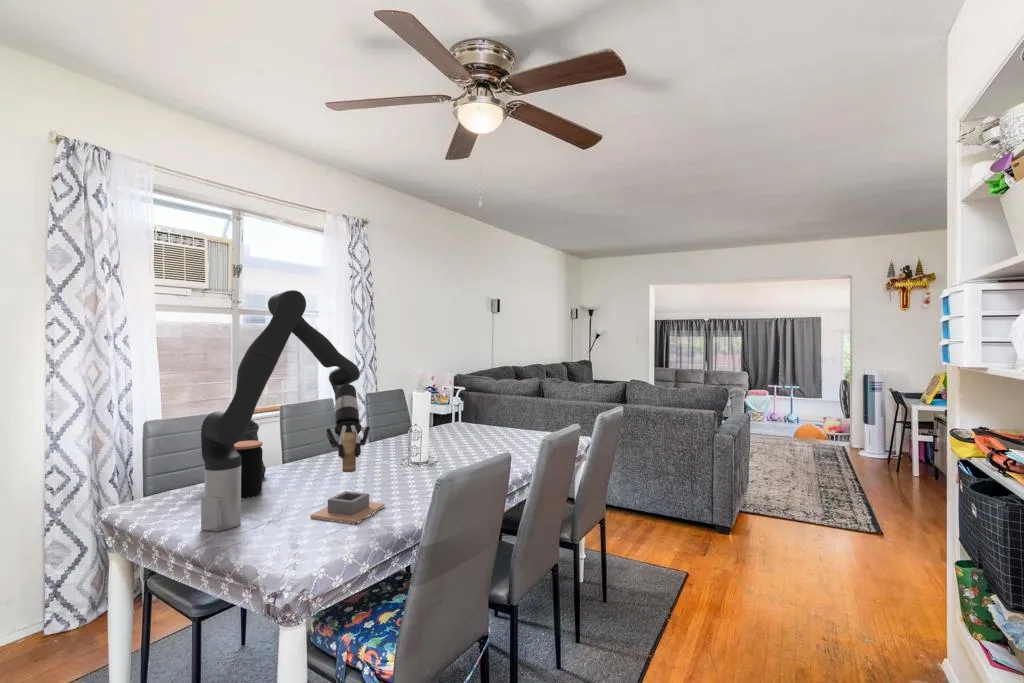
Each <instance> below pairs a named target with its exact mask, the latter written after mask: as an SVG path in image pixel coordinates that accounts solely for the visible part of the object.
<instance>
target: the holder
mask: <svg viewBox="0 0 1024 683" xmlns="http://www.w3.org/2000/svg"><path fill="white" fill-rule="evenodd" d="M383 506H386V504H385V503H381V502H380V503H379V502H371V501H370V493H366V492H356V491H355V492H354V491H347V490H345V491H343V492H341V493H338V494H336V495H335V496H332V497H330V498H328V499H327V506H326V507H324V508H322V509H320V510H317V511H315V512H313V513H312V514H310V519H312V518H316V519H315V520H320V519H323V520H322V521H327V520H333V521H332V522H335V521H342V522H350V523H356V522H358V521H360V520H362V519H363V518H365V517H367V516H368V515H370V514H372V513H373V512H375V511H377V510H378V509H380V508H382V507H383ZM382 509H383V508H382ZM377 512H378V511H377ZM372 515H373V514H372ZM370 516H371V515H370ZM367 518H368V517H367ZM365 519H366V518H365ZM362 521H363V520H362ZM342 522H341V523H342ZM360 522H361V521H360ZM350 523H349V524H350Z"/></svg>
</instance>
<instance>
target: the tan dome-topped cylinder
mask: <svg viewBox="0 0 1024 683" xmlns="http://www.w3.org/2000/svg"><path fill="white" fill-rule="evenodd" d="M343 453H344V456H343V458H342V471H341V472H343V473H354V472H356V471H357V468H356V466H357V464H356V463H357V457H356V432H345V433H343Z"/></svg>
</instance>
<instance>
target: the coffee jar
mask: <svg viewBox="0 0 1024 683" xmlns="http://www.w3.org/2000/svg"><path fill="white" fill-rule="evenodd" d="M234 446H235V449H236V451H237V452H238V453H239V454H240V456H241V498H245V499H248V498H247V497H251V498H253V497H252V496H255V497H257V496H259V495H260V494H261V492H262V491H263V479H262V460H263V448H262V446H263V442H262V441H260V440H258V441H240V442H237V443H235V444H234ZM259 493H260V494H259ZM258 494H259V495H258ZM256 495H257V496H256Z"/></svg>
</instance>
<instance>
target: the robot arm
mask: <svg viewBox="0 0 1024 683" xmlns="http://www.w3.org/2000/svg"><path fill="white" fill-rule="evenodd" d="M267 308H268V311H269V313H270V314H271V315H272V316H271V317H272V318H271V319H270V321H269V323H268V325H267V326H266V327H265V328H264V329H263V330H262V332H261V333H260V334H259V335H258V336H257V337H256V338H255V339H254V341H252V343H251V344H250V346H249V347H248V349H247V350H246V352H244V356H243V357H242V358H241V361H240V363H239V365H238V369H237V375H236V386H235V387H236V388H235V392H234V395H233V398H232V399H231V401H230V403H229V405H228V407H227V408H226V410H224V411H223V410H218V411H217V410H216V411H213V412H211V413H209V414H208V415H207V416H206V417H205V418H204V419H203V422H202V424H201V429H200V445H201V458H202V460H203V463H204V494H203V495H202V496H201V497H200V500H201V502H200V504H201V505H200V530H203V531H208V532H214V533H219V532H222V531H225V530H226V531H227V530H230V529H234V528H235V527H238V526H239V525H240V524H241V522H242V521H241V520H242V516H241V514H242V499H241V456H240V454H239V453H238V452H237V451H236V449H235V446H234V444H235V443H237V442H239V441H240V440H241V439H242V438H243V437H244V435H245V433H246V431H247V429H248V427H249V424H250V421H251V420H252V417H253V416H254V413H255V410H256V406H257V405H258V402H259V401H260V398H261V396H262V394H263V392H264V390H265V388H266V386H267V383H268V381H269V380H270V378H271V375H272V374H273V372H274V370H275V367H276V365H277V364H278V362H279V359H280V357H281V355H282V353H283V351H284V348H285V346H286V344H287V342H288V340H289V339H290V336H291V334H293V335H294V336H295V337H297V339H298V340H300V342H302V343H303V345H304V346H305V347H306V348H307V349H308V350H309V351H310V353H311V354H312V355H313V356H314V357H315V358H316V359H317V361H318V362H319V363H320V364H321V365H322V366H323V367H324V368H326V369H328V368H333V367H336V368H334V369H333V370H331V371H330V373H329V375H328V380H329V383H330V385H331V387H332V390H333V392H334V400H335V404H334V417H335V419H334V420H335V421H334V422H335V426H334V427H333V428H332V429H330V428H327V429H326V432H325V433H326V434H325V435H326V437H327V439H328V441H329V444H330V446H331V447H332V448H333V449H334V448H336V449H337V452H338V453H337V455H338V457H339V458H340V459H343V456H344V453H343V433H345V432H356V458H359V456H361V453H362V450H361V446H366V443H367V439H368V437H369V433H370V426H366V427H364V426H362V424H361V423H360V422H361V421H360V413H359V404H358V400H357V389H356V388H355V385H352V383H354V382H355V381H356V382H357V380H359V378H360V376H361V372H360V369H359V367H358V365H356V364H355V363H354V362H353V361H351V360H350V359H349V358H347V357H345V356H344V355H343V354H341V352H339V350H338V349H337V348H336V347H335V346H334V345H333V343H332V342H331V341H330V340H329V339H328V338H327V337H326V336H325V335H324V334H322V332H320V331H318V330H317V328H314V327H313V326H312V325H311V324H310V323H309V322H307V320H306V319H305V318H304V317H303V315H304V313H305V311H306V308H307V300H306V298H305V295H304V294H303V293H302V292H301V291H299V290H295V289H290V290H284V291H280V292H277V293H274V294H272V295H271V296H270V297H269V299H268V302H267ZM360 432H362V433H361V434H362V438H361V439H360V438H359V433H360ZM335 434H336V435H337V436H338V437H339V438H338V439H339V440H338V441H337V439H336V438H335Z"/></svg>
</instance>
